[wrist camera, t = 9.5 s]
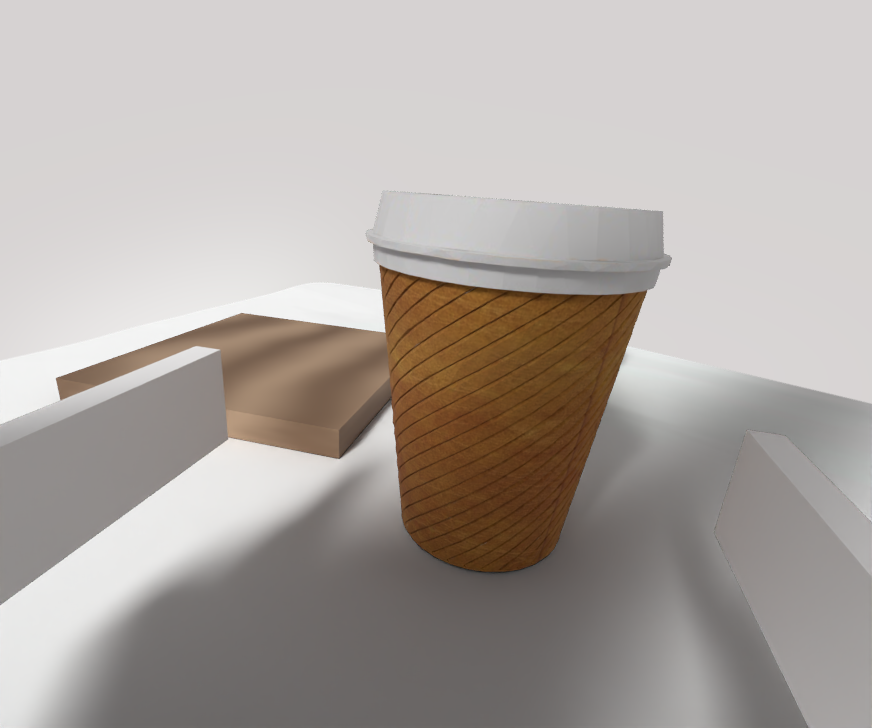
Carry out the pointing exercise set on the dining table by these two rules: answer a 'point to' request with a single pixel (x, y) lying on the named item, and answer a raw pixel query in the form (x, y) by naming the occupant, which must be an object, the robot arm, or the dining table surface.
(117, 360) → the walnut board
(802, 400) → the dining table surface
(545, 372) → the disposable coffee cup
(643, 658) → the dining table surface
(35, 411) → the robot arm
